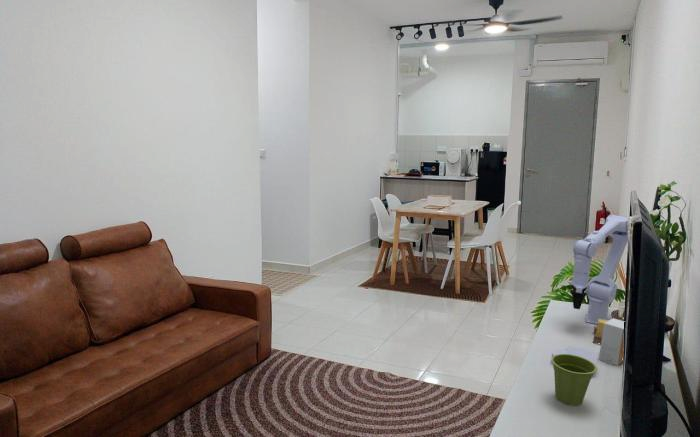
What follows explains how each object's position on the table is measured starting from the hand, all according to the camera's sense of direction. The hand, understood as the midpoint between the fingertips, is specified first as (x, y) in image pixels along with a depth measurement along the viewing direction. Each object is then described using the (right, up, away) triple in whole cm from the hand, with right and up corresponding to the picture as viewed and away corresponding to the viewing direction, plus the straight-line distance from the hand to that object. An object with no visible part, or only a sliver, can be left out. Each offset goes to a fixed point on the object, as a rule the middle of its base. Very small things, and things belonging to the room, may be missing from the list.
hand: (576, 305), depth 200 cm
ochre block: (+6, -11, -7) cm, 15 cm away
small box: (+1, -14, -24) cm, 28 cm away
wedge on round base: (-15, -15, -31) cm, 37 cm away
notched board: (+6, -11, -7) cm, 15 cm away
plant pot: (-25, -18, -52) cm, 61 cm away
